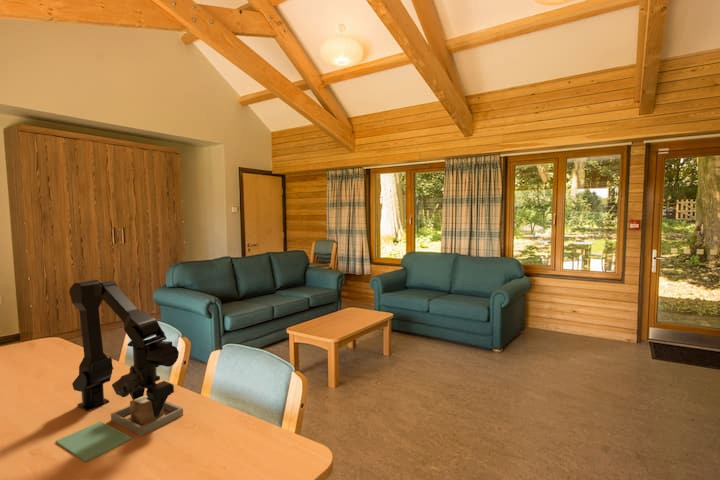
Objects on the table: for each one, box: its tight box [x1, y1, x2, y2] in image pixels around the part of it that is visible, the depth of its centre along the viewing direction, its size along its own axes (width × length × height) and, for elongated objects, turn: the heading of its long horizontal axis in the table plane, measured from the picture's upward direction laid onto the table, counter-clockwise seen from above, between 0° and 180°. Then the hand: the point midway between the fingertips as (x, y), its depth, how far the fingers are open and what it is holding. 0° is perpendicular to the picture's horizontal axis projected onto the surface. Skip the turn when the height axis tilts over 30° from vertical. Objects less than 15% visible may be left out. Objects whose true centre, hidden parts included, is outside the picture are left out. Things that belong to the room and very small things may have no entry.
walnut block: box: [129, 394, 165, 426], centre depth 114 cm, size 5×7×6 cm
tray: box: [110, 400, 184, 437], centre depth 114 cm, size 16×13×2 cm
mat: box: [55, 420, 132, 463], centre depth 103 cm, size 16×11×1 cm
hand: (147, 412), depth 114 cm, fingers open, 9 cm apart
